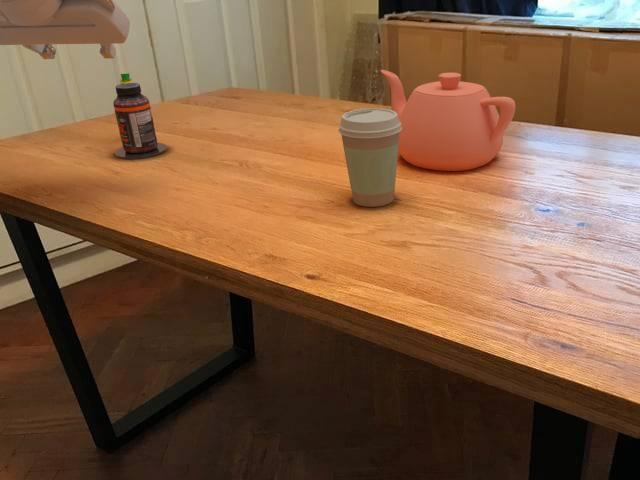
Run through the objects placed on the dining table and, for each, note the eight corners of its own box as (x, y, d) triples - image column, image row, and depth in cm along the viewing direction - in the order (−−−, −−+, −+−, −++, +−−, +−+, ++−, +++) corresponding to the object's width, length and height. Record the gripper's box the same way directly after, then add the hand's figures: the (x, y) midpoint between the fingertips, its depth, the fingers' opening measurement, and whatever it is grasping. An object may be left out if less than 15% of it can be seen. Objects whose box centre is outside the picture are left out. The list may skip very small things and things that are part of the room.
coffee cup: (395, 186, 98) (393, 105, 92) (410, 207, 91) (408, 119, 85) (339, 192, 97) (333, 110, 91) (348, 214, 89) (343, 125, 84)
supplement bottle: (118, 149, 118) (103, 85, 113) (149, 142, 122) (136, 79, 116) (132, 156, 114) (117, 90, 109) (164, 149, 118) (151, 84, 112)
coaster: (104, 155, 117) (103, 153, 117) (142, 142, 124) (142, 140, 124) (140, 162, 113) (139, 159, 113) (178, 147, 120) (177, 145, 120)
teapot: (354, 157, 111) (349, 75, 105) (412, 133, 122) (411, 58, 116) (484, 184, 97) (487, 92, 91) (535, 155, 109) (542, 70, 102)
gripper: (105, -33, 85) (150, 36, 98) (-43, -30, 87) (21, 37, 100) (97, 8, 83) (144, 72, 97) (-54, 11, 85) (13, 73, 99)
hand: (80, 55), depth 99 cm, fingers open, 8 cm apart
